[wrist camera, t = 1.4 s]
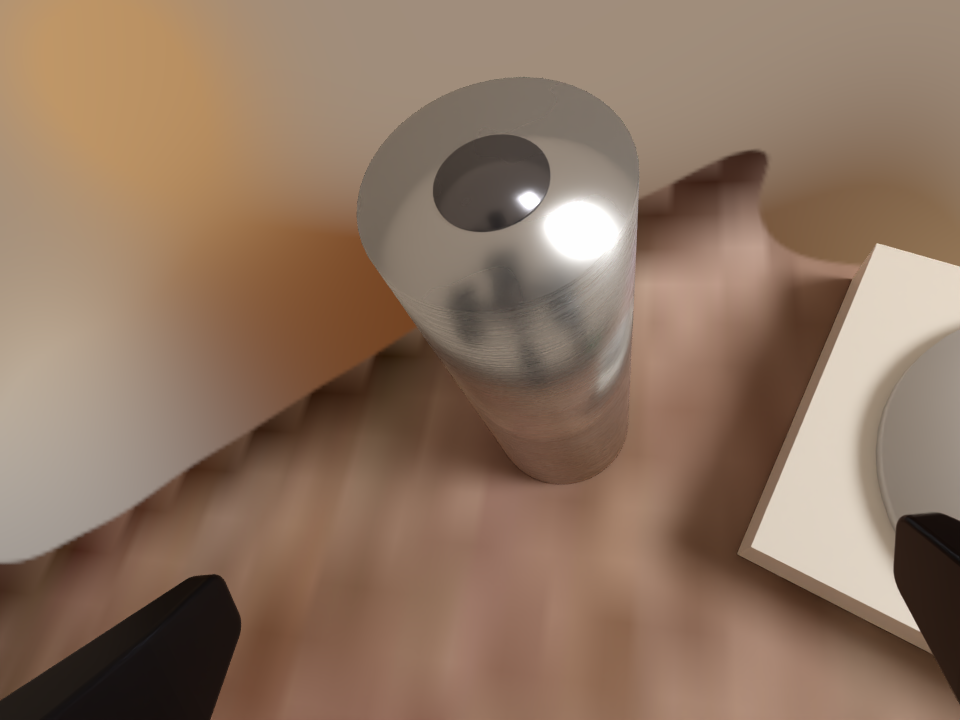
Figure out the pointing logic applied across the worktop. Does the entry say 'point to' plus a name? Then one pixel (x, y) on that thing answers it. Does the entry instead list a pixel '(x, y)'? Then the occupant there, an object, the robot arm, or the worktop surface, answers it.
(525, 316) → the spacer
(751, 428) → the worktop surface
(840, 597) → the scale
